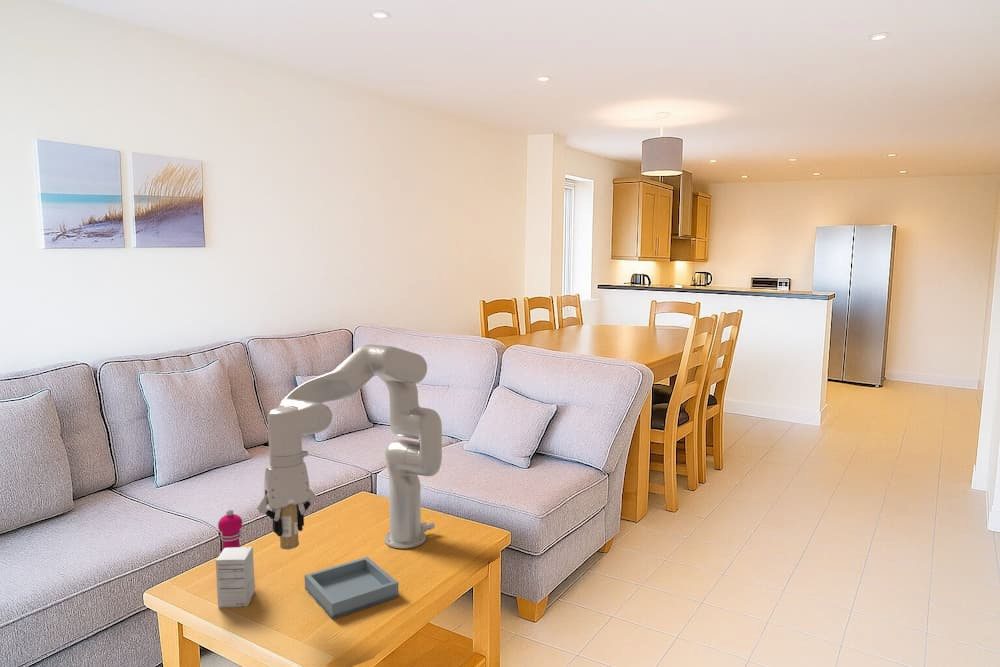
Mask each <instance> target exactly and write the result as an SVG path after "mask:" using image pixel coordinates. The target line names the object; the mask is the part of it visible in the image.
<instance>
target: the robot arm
mask: <svg viewBox="0 0 1000 667" xmlns="http://www.w3.org/2000/svg"><path fill="white" fill-rule="evenodd" d="M427 372H428V364H427V362H426V359H425V358H424V357H423V356H422V355H421V354H419V353H416V352H413V351H412V352H411V351H409V350H405V349H402V348H399V347H396V346H389V345H381V344H371V343H369V344H363V345H361V346H358V347H357V348H356V349H355V350H354V351H353V352H352V353H350V355H349V356H348V357H347V358H345V359H344V360H343V361H342V362H341V363H340V364H339V365H337V366H336V368H335V369H333V370H331V371H330V372H327V373H325V374H322V375H320V376H317V377H315V378H313V379H310V380H308V381H305V382H303V383H302V384H300V385H299V386H297V387H295V388H294V389H293V390H292V391H291V392H289V393H288V395H287V396H285V397H284V398H283V399H282V400H281V402H280V403H279V405H278V407H275V408H274V409H271V410H270V411H269V412H268V415H267V431H268V454H269V456H268V457H269V459H268V460H269V464H267V465H266V466H265V470H264V471H265V472H264V478H263V498H262V500H261V502H260V503H259V505H258V506H257V508H256V510H257V512H259V513H261V514H263V515H266V516H267V517H269V518H270V519H271V520H272V531H273V533H274V534H276V535H277V537H279V538H280V536H281V535H282V521H281V520H280V512H281V508H284V507H286V506H287V505H289V504H287V503H288V501H289V500H290V499H292V500H293V501H294V503H292V504H293V505H297V515H298V532H303V529H304V528H303V527H304V526H305V514H306V512H307V510H308V509H309V507H310V506H311V505H312V504H313V503H314V502H315V501H316V500H317V498H318V496H317V495H316V494H315V493H314V492H313V491H312V490H311V488H310V480H309V474H308V468H307V466H306V465H307V464H306V462H305V461H304V458H305V457H308V456H309V453H308V452H309V451H308V450H303V443H302V442H303V439H302V438H303V436H306V435H312V434H313V435H315V434H319V433H322V432H324V431H325V430H326V429H328V428H329V427H330V425H331V424H332V421H333V412H332V410H331V409H330V407H329V406H328V405H326V404H324V403H327V402H334V401H340V400H344V399H347V398H351V397H352V396H355V395H356V394H357V393H358V392H359V391H360V390H361V389H362V388H363V387H364V386H365V385H366V384H367V383H368V382H369V381H370V380H371V379H372V378H373V377H376V376H377V377H378V378H380V379H381V381H382V382H383V383H384V384H385V385H386V388H387V390H388V396H389V426H390V430H391V432H392V434H393V435H396V436H398V437H402V438H406V439H396V440H393V441H391V442H390V443H388V446H387V447H386V449H385V455H384V456H385V457H384V458H385V465H386V468H387V473H388V490H389V491H388V492H389V493H388V496H389V497H388V499H389V505H388V506H389V507H388V508H389V509H388V510H389V511H388V512H389V532H388V533H386V534H385V536H384V543H385V544H386V545H387V546H389V547H390V548H391V547H392V548H394V549H403V550H404V549H412V548H417V547H418V546H421V545H422V544H424V543H425V542H426V539H427V535H426V532H427V531H429V530H433V529H435V528H436V526H435V523H434V522H428V523H427V522H426V521H423V522H422V520H421V519H422V516H421V514H422V512H421V511H422V510H421V507H422V506H421V505H422V503H421V502H422V500H421V499H422V497H421V491H422V490H421V489H422V488H421V487H422V486H421V482H420V481H421V480H420V478H419V476H423V477H433V476H435V475H437V474H438V473H439V470H440V468H441V465H442V459H443V458H442V457H443V435H442V434H443V426H442V419H441V417H440V415H439V413H438V412H437V411H436V410H434V409H432V408H427V407H421V406H420V403H419V391H418V386H417V384H418V383H421V382H422V381H423V380H424V378H426V376H427ZM407 438H408V439H407ZM410 439H413V440H410ZM416 440H418V441H416ZM267 506H268V508H267Z"/></svg>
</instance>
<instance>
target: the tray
mask: <svg viewBox="0 0 1000 667" xmlns="http://www.w3.org/2000/svg"><path fill="white" fill-rule="evenodd" d="M305 589H306V590H307V591H308V592H307V591H306V590H305ZM304 590H305V591H306V592H307V593H308V595H309V596H312V597H313V598H314V599H315V600H316V601H315V600H314V599H313V598H312V597H311V598H312V599H313V600H314V601H315V602H316V604H318V605H319V606H321V607H322V608H323V609H324V610H325V611H324V610H323V609H322V608H321V609H322V610H323V611H324V612H325V613H326V615H327V616H328V617H329V618H330V619H331V620H335V619H338V618H341V616H342V617H344V615H345V616H346V615H347V616H348V615H350V614H353V613H356V612H358V611H362V610H365V609H368V608H371V607H374V606H377V605H380V604H383V603H385V602H388V601H391V600H394V599H395V600H396V599H398V598H399V582H398V580H396V578H394V577H392V576H391V575H390V574H389V573H387V571H385V570H384V569H383V568H382V567H381V566H379V565H378V564H377V563H376V562H374V561H373V560H372V559H371V558H370V557H369V556H365V557H362V558H358V559H355V560H354V559H353V560H351V561H348V562H344V563H341V564H338V565H334V566H331V567H328V568H324V569H320V570H316V571H314V572H310V573H306V574H304Z"/></svg>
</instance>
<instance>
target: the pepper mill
mask: <svg viewBox="0 0 1000 667" xmlns="http://www.w3.org/2000/svg"><path fill="white" fill-rule="evenodd" d="M242 527H243V520H242V517H241V516H240V515H239V514H235V513H234V510H233V509H231V508H230V509H227V510H226V512H225V514H224V515H223V516H221V518H220V519H219V521H218V524H217V528H218V531H219V532H220V540H221V541H222V549H221V552H222V551H223V549H224V548H232V547H241V545H240V538H241V537H242V534H241V529H242Z"/></svg>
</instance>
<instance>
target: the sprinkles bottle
mask: <svg viewBox="0 0 1000 667" xmlns="http://www.w3.org/2000/svg"><path fill="white" fill-rule="evenodd" d="M292 503H294V501H293V500H292V499H290V500H289V501H288V503H287V504H289V505H287V506H286V507H284V508H281V512H280V520H281V521H282V535H281V536H280V537H279V543H280V544H279V548H280V549H282V550H287V551H289V550H293V549H296V548H298V546H299V545H300V541H299V530H298V515H297V505H293V504H292Z"/></svg>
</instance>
